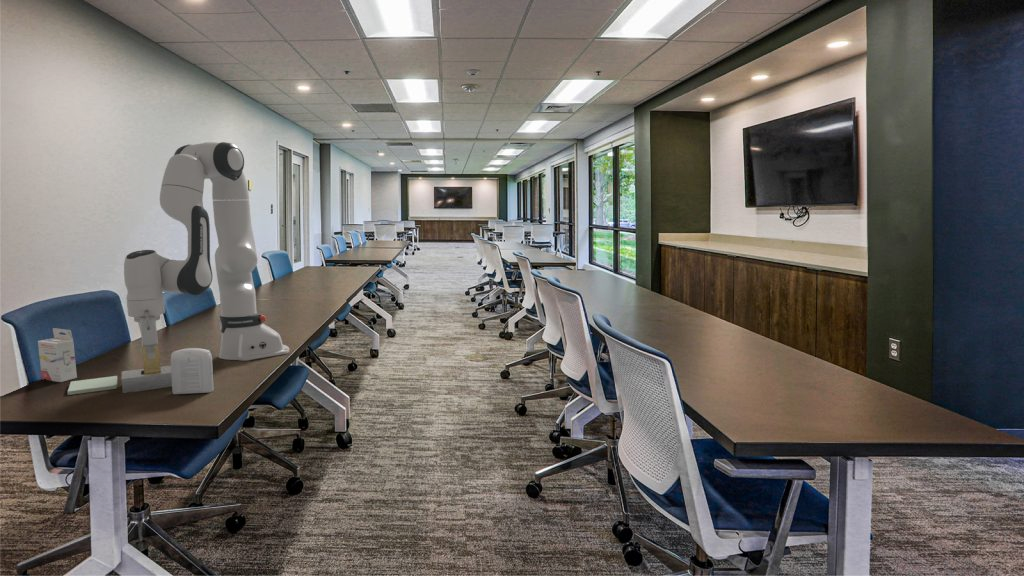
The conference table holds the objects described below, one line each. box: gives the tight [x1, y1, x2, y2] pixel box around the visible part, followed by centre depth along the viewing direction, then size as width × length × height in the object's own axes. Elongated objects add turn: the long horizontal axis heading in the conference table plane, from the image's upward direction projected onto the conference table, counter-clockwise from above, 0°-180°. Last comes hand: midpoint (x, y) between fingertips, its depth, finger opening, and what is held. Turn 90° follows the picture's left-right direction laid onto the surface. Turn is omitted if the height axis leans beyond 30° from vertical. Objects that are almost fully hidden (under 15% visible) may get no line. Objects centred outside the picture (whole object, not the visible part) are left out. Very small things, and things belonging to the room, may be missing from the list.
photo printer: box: [170, 347, 215, 395], centre depth 161 cm, size 10×4×12 cm, turn 103°
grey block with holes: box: [120, 364, 172, 394], centre depth 169 cm, size 18×9×4 cm, turn 122°
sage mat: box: [67, 375, 118, 396], centre depth 167 cm, size 11×11×1 cm
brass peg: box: [140, 342, 161, 374], centre depth 168 cm, size 4×4×10 cm
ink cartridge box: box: [37, 327, 78, 383], centre depth 174 cm, size 9×5×15 cm, turn 71°
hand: (150, 356), depth 168 cm, fingers closed on brass peg, 4 cm apart
